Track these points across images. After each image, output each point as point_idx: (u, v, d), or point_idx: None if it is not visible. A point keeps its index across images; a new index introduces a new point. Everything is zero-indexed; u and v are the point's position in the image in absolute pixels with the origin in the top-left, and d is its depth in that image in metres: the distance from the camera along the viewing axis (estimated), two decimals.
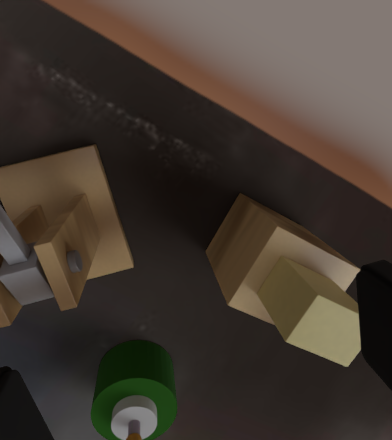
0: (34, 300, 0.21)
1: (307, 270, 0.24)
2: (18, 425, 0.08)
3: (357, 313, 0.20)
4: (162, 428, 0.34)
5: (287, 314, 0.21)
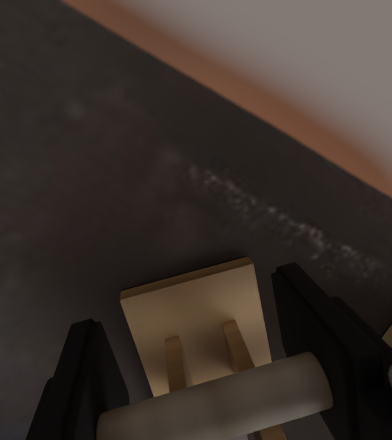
0: None
1: None
2: (107, 368, 0.09)
3: None
4: None
5: None
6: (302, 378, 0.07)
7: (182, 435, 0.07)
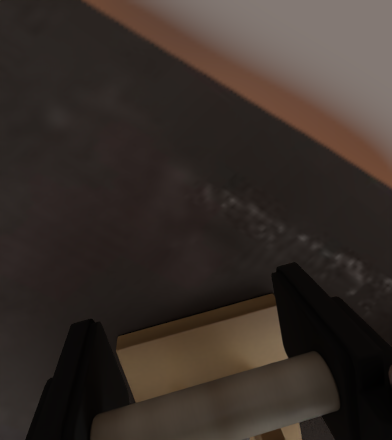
0: None
1: None
2: (107, 368, 0.09)
3: None
4: None
5: None
6: (303, 368, 0.07)
7: (177, 426, 0.06)
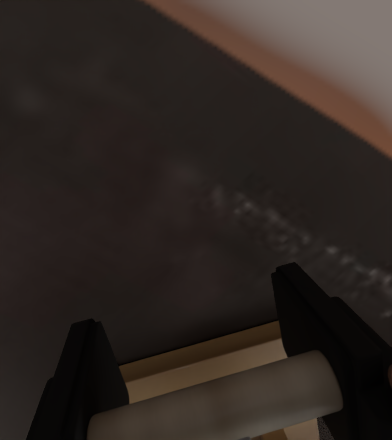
0: None
1: None
2: (107, 368, 0.09)
3: None
4: None
5: None
6: (301, 361, 0.07)
7: (175, 417, 0.06)
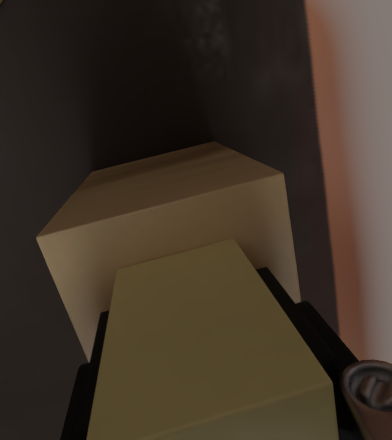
0: None
1: None
2: None
3: None
4: None
5: (163, 364, 0.06)
6: None
7: None
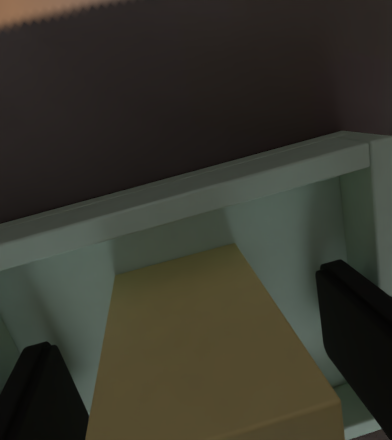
0: None
1: None
2: (60, 394, 0.08)
3: None
4: None
5: (162, 378, 0.05)
6: None
7: None
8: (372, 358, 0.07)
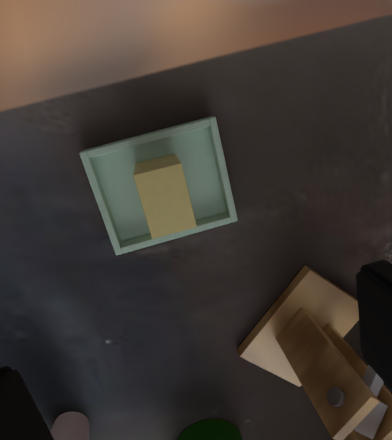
0: (363, 432, 0.25)
1: None
2: (18, 426, 0.08)
3: (191, 204, 0.25)
4: None
5: (149, 168, 0.25)
6: None
7: None
8: None
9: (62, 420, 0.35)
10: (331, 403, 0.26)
